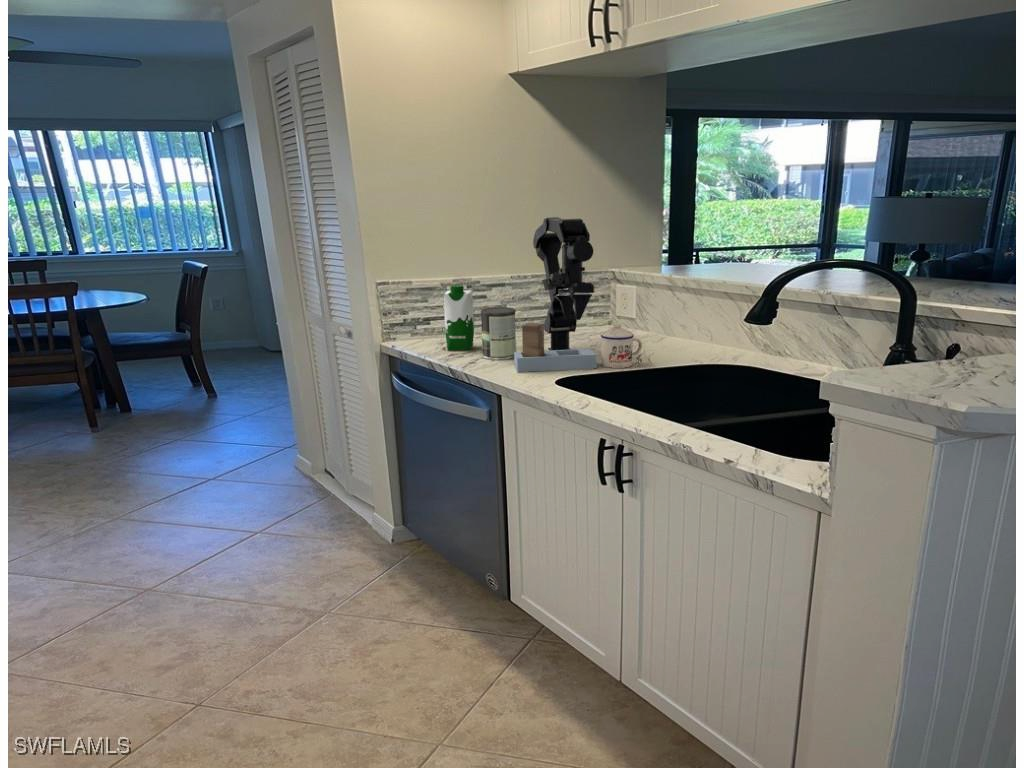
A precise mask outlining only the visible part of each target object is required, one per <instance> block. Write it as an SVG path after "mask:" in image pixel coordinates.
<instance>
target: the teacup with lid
mask: <svg viewBox="0 0 1024 768" xmlns="http://www.w3.org/2000/svg"><path fill="white" fill-rule="evenodd" d="M600 337H601V366H602V367H604V366H606V367H605V368H608V367H612V368H611V369H625V367H627V368H629V366H630V367H631V365H632V366H633V357H634V356H636V355H639V353H641V351H642V349H643V343H642V340H641V339H639V338H637V337H635V335H634V333H633V332H632V331H630V330H627V329H626V328H624V327H622V324H620V323H615V324H613V327H611V328H609V329H608V330H605V331H602V332H601V334H600ZM634 342H638V347H637V350H636V351H635V352H634V351H633V350H634V349H633V347H634Z"/></svg>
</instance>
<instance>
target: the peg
mask: <svg viewBox="0 0 1024 768" xmlns="http://www.w3.org/2000/svg"><path fill="white" fill-rule="evenodd" d="M544 323H545V322H544ZM544 323H543V322H542V323H541V322H527V323H525V324H522V326H521V329H522V330H521V331H522V335H521V337H522V352H523V357H543V356H544V351H545V328H544Z"/></svg>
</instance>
